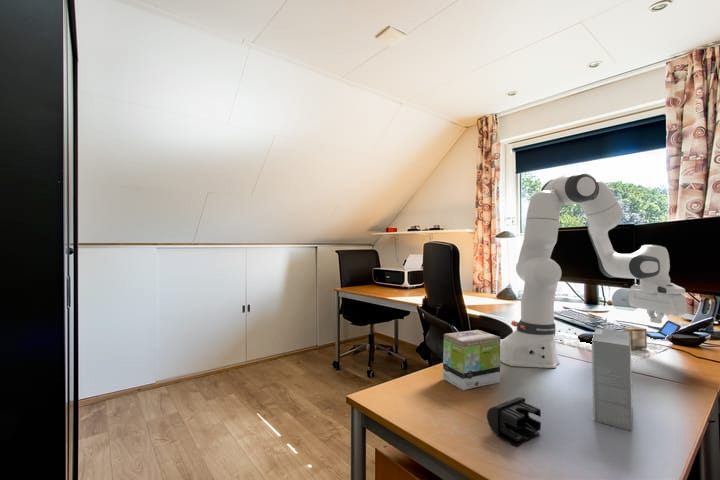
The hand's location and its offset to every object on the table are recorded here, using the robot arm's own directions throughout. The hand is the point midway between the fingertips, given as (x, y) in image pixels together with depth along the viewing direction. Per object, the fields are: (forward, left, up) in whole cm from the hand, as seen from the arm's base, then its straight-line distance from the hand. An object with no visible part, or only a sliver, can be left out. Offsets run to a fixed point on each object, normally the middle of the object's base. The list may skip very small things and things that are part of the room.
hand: (655, 322), depth 127 cm
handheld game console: (+29, +27, -14) cm, 42 cm away
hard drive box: (-52, -39, -14) cm, 67 cm away
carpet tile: (-8, +20, -14) cm, 26 cm away
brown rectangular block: (-1, +8, -12) cm, 15 cm away
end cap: (-82, -46, -14) cm, 95 cm away
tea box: (-80, -17, -14) cm, 83 cm away
